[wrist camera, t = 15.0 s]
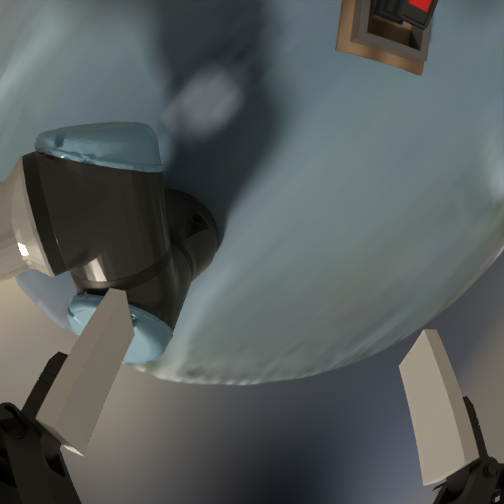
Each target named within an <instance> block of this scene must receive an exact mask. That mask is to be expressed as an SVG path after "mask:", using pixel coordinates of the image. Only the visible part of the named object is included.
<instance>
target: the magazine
mask: <svg viewBox="0 0 504 504" xmlns="http://www.w3.org/2000/svg"><path fill="white" fill-rule="evenodd" d="M437 2H438V0H377V1H376V6H375V10H374V15H376V16H378V17H381V18H383V19H386V20H388V21H391V22H393V23H397V24H399V25H402V24H403V21H405V22H407V23H409V24H411V25H413V26H415V27H417V28H419V29H422V30H425V29H426V28H427V27H428V25H429V22H430V20H431V17H432V15H433V12H434V10H435V7H436V5H437Z"/></svg>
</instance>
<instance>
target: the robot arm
mask: <svg viewBox="0 0 504 504" xmlns="http://www.w3.org/2000/svg"><path fill="white" fill-rule="evenodd" d="M35 149H36V150H37V151H35V152H32V153H29V154H27V155H24V156H21V157H19V159H18V161H17V163H16V165H15V166H14V168H13V170H12V172H11V174H10V176H9V177H8V178H7V179H6V180H5V181H2V182H0V283H1V282H3V281H5V280H7V279H9V278H12V277H14V276H16V275H18V274H20V273H23V272H25V271H27V270H29V269H37V270H39V271H41V272H43V273H45V274H47V275H49V276H51V277H54V276H57V275H59V274H61V273H64V272H66V271H69V270H70V272H71V275H72V278H73V280H74V283H75V286H76V288H77V294H76V295H75V296H74V297H73V298H72V299H71V300H70V305H69V307H68V310H67V317H68V321H69V323H70V325H71V327H72V329H73V330H74V331H75V333H76V334H77V335H78V336H79V338H78V340H77V341H76V343H75V345H74V346H73V348H72V350H71V352H70V353H69V355H67V354H64V353H61V352H58V353H57V354H55V355H54V356H53V357H52V358H51V359H50V360H49V361H48V363H47V365H46V366H45V368H44V370H43V372H42V373H41V375H40V377H39V380H37V382H36V384H35V386H34V388H33V390H32V391H31V394H30V395H29V397H28V399H27V401H26V403H25V405H24V407H23V409H22V410H21V411H20V410H19V409H18V408H17V407H16V406H15V405H14V404H12V403H2V404H0V504H82V503H81V501H80V499H79V497H78V495H77V492H76V490H75V488H74V485H73V483H72V480H71V478H70V475H69V473H68V470H67V467H66V465H65V462H64V459H63V456H62V453H61V451H60V446H61V444H62V445H63V446H65V447H66V448H67V449H69V450H71V451H73V452H75V453H77V454H80V455H82V456H84V454H85V452H86V449H87V446H88V443H89V441H90V438H91V436H92V433H93V430H94V428H95V425H96V423H97V420H98V418H99V415H100V413H101V410H102V408H103V405H104V403H105V401H106V398H107V396H108V393H109V391H110V389H111V386H112V384H113V382H114V379H115V377H116V375H117V372H118V370H119V368H120V366H121V364H122V362H127V363H133V364H144V363H150V362H152V361H153V360H156V359H158V358H159V357H161V355H162V354H163V353H164V351H165V349H166V347H167V345H168V343H169V341H170V340H171V339H172V337H173V330H174V328H175V325H176V322H177V319H178V317H179V314H180V311H181V309H182V306H183V303H184V300H185V298H186V295H187V292H188V290H189V287H190V284H191V282H192V281H193V280H194V279H195V278H196V277H197V276H199V275H200V274H201V273H202V272H203V271H204V270H205V269H206V268H207V267H208V266H209V265H210V263H211V262H212V260H213V258H214V255H215V252H216V249H217V245H218V231H217V227H216V224H215V221H214V219H213V217H212V215H211V214H210V212H209V211H208V210H207V209H206V208H205V206H204V205H203V204H201V203H200V202H199V201H198V200H196V199H195V198H193V197H192V196H190V195H188V194H185V193H183V192H179V191H175V190H164V183H163V172H162V171H164V167H163V165H162V164H161V160H160V153H159V146H158V139H157V135H156V133H155V131H154V130H153V129H152V128H151V127H150V126H148V125H146V124H144V123H139V122H106V123H93V124H84V125H76V126H69V127H64V128H59V129H55V130H51V131H46V132H43V133H40V134H39V135H38V137H37V138H36V143H35ZM399 369H400V372H401V376H402V380H403V384H404V388H405V392H406V396H407V400H408V404H409V409H410V413H411V418H412V422H413V427H414V432H415V437H416V442H417V448H418V453H419V459H420V465H421V472H422V479H423V485H428V484H432V483H436V482H438V481H440V480H442V479H444V478H446V479H447V481H446V482H444V483H442V484H440V485H438V486H437V487H435V488H434V489H433V492H435V491H437V490H439V489H441V490H440V491H438V492H437V493H436V494H438V495H437V497H436V499H435V501H434V503H433V504H504V464H501V463H498V462H497V460H496V459H495V458H493V457H489V456H488V454H487V451H486V447H485V443H484V439H483V436H482V432H481V429H480V426H479V425H478V424H479V422H478V419H477V418H476V412H475V410H474V406H473V404H472V403H471V402H470V400H469V399H468V397H467V396H466V397H462V395H461V392H460V389H459V386H458V383H457V380H456V377H455V375H454V372H453V369H452V367H451V365H450V362H449V359H448V357H447V354H446V352H445V349H444V347H443V344H442V342H441V340H440V337H439V335H438V332H437V330H428V329H424V330H423V331H422V333H421V335H420V336H419V338H418V339H417V341H416V342H415V344H414V345H413V347H412V348H411V350H410V351H409V353H408V354H407V355H406V357H405V359H404V360H403V361H402V363H401V364H400V365H399ZM499 495H500V500H499V501H498V502H495V497H497V496H499Z"/></svg>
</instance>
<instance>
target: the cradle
mask: <svg viewBox="0 0 504 504" xmlns="http://www.w3.org/2000/svg"><path fill="white" fill-rule="evenodd" d="M370 2H371V0H355V6H354V14H353V22H352V30H351V38H350V42H353V43H357V44H360V45H364V46H367V47H371V48H374V49H378V50H381V51H384V52H387V53H390V54H393V55H396V56H399V57H402V58H404V59H407V60H410V61H413V62H421V61H427V55H428V47H429V39H430V29H431V20H430V22H429V25H428V27H427V28H426V29H425V30H422V29H419V28H417V27H415V26H413V25H411V34H410V42H409V47H408V46H406V45H403V44H400V43H397V42H394V41H392V40H389V39H386V38H383V37H379V36H376V35H373V34H370V33H367V28H368V20H369V11H370ZM431 18H432V17H431Z"/></svg>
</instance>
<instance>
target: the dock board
mask: <svg viewBox="0 0 504 504" xmlns="http://www.w3.org/2000/svg"><path fill="white" fill-rule="evenodd" d="M376 1H377V0H371V2H370V11H369V20H368V28H367V33H370V34H373V35H376V36H379V37H383V38H386V39H389V40H392V41H394V42H397V43H400V44H403V45H406V46H408V47H409V42H410V34H411V24H409V23H407V22H405V21H403V24H402V25H399V24H397V23H393V22H391V21H388V20H386V19H383V18H381V17H378V16H376V15H374V10H375V6H376ZM354 6H355V0H342V5H341V13H340V21H339V28H338V36H337V43H336V50H338V51H342V52H346V53H350V54H354V55H358V56H361V57H365V58H369V59H372V60H375V61H379V62H382V63H385V64H388V65H391V66H394V67H397V68H400V69H403V70H406V71H409V72H411V73H414V74H417V75H422V70H423V63H424V61H421V62H413V61H410V60H407V59H404V58H402V57H399V56H396V55H393V54H390V53H387V52H384V51H381V50H378V49H374V48H371V47H367V46H364V45H360V44H357V43H353V42H350V38H351V30H352V22H353V14H354Z"/></svg>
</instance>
